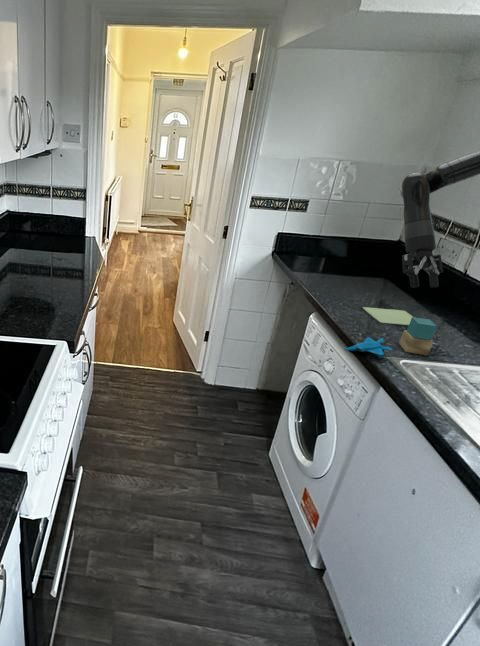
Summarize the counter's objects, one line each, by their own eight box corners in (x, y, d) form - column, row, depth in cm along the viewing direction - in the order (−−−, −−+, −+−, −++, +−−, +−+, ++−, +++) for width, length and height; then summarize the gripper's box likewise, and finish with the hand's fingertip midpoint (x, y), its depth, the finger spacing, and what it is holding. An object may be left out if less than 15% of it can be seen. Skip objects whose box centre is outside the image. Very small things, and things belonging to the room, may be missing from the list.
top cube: (424, 333, 133) (430, 319, 131) (430, 340, 128) (437, 326, 126) (406, 330, 134) (412, 316, 132) (412, 337, 129) (418, 323, 127)
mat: (404, 311, 162) (404, 310, 162) (426, 327, 149) (426, 326, 149) (361, 307, 163) (362, 306, 163) (380, 323, 150) (380, 322, 150)
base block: (419, 346, 135) (425, 333, 133) (427, 355, 130) (433, 341, 128) (398, 343, 136) (404, 329, 134) (405, 352, 131) (411, 338, 129)
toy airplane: (367, 344, 134) (371, 332, 132) (397, 359, 126) (402, 347, 124) (343, 350, 130) (346, 338, 128) (372, 366, 122) (377, 354, 120)
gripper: (415, 233, 126) (421, 285, 124) (448, 234, 130) (454, 285, 129) (391, 239, 133) (396, 289, 131) (423, 240, 137) (428, 288, 136)
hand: (424, 287), depth 130 cm, fingers open, 8 cm apart
